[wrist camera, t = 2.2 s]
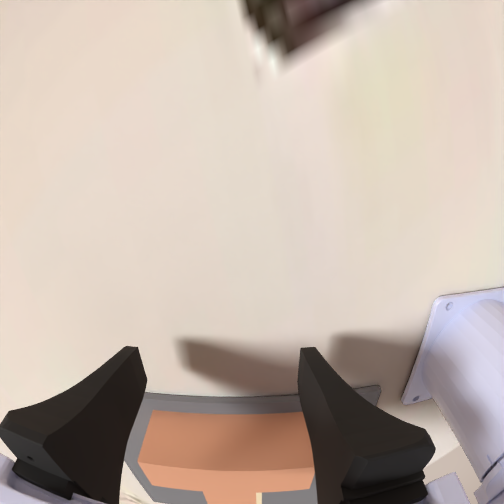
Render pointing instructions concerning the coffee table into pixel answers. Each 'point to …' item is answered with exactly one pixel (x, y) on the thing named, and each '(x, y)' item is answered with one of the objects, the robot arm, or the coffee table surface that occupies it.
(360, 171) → the coffee table surface
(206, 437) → the rust T block
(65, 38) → the coffee table surface
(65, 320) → the coffee table surface
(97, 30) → the coffee table surface
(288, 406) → the charcoal mat
